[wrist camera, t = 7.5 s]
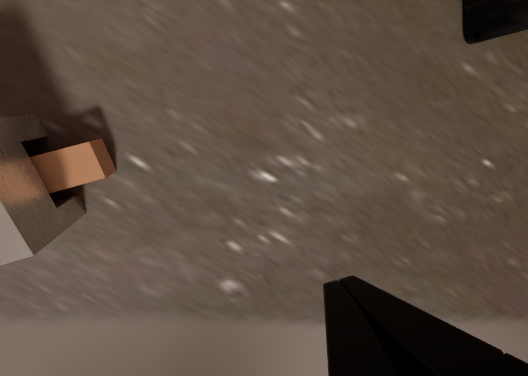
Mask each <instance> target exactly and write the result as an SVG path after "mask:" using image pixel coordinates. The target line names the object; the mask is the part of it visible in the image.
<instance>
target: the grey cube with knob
mask: <svg viewBox="0 0 528 376" xmlns="http://www.w3.org/2000/svg"><path fill="white" fill-rule="evenodd" d="M46 136H47V134H46V132H45V130H44V129H43V127H42V125H41V123H40V121H39V119H38V117H37V115H20V116H3V117H0V265H3V264H6V263H9V262H13V261H16V260H20V259H23V258H27V257H30V256H34V255H35V254H36V253H37V252H39V251H40V250H41V249H42V248H44V247H45V246H46V245H47V244H49V243H50V242H51V241H52V240H53V239H55V238H56V237H57V236H58V235H60V234H61V233H62V232H63V231H65V230H66V229H67V228H68V227H70V226H71V225H72V224H73V223H75V222H76V221H77V220H78V219H80V218H81V217H82V216H83V215H85V214H86V211H85V209H84V207H83V205H82V203H81V201H80V199H79V197H78V195H76V196H73V197H69V198H65V199H62V200H58V201H55V202H53V200H52V199H51V197H50V195H49V193H48V191H47V189H46V188H45V186H44V184H43V182H42V180H41V178H40V177H39V175H38V173H37V171H36V169H35V167H34V166H33V164H32V162H31V160H30V158H29V156H28V155H27V153H26V151H25V149H24V147H23V145H22V144H21V143H24V142H27V141H31V140H35V139H39V138H42V137H46Z"/></svg>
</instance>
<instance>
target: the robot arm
mask: <svg viewBox="0 0 528 376" xmlns="http://www.w3.org/2000/svg"><path fill="white" fill-rule="evenodd" d="M526 29H528V0H464V38H465V41H466V42H467V43H468V44H474V43H478V42H482V41H485V40H489V39H493V38H497V37H500V36H504V35H508V34H512V33H515V32H519V31H523V30H526ZM474 32H476V36H475V37H474ZM323 292H324V308H325V325H326V341H327V358H328V374H329V376H528V363H526V362H524V361H522V360H520V359H518V358H516V357H514V356H512V355H510V354H508V353H505V354H503V352H502V351H501V350H500V349H498V348H496V347H494V346H492V345H490V344H488V343H486V342H484V341H482V340H480V339H478V338H476V337H474V336H472V335H470V334H468V333H466V332H464V331H462V330H460V329H458V328H456V327H454V326H452V325H450V324H449V323H447V322H445V321H443V320H441V319H439V318H437V317H435V316H433V315H431V314H429V313H427V312H425V311H423V310H421V309H419V308H417V307H415V306H413V305H411V304H409V303H407V302H405V301H403V300H401V299H399V298H397V297H395V296H393V295H391V294H389V293H387V292H385V291H383V290H381V289H379V288H377V287H375V286H373V285H371V284H370V283H368V282H366V281H364V280H362V279H360V278H358V277H356V276H348V277H345V278H341V279H340V280H339V281H337V280H334V281H331V282H327V283H324V285H323Z"/></svg>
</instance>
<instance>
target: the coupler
mask: <svg viewBox="0 0 528 376" xmlns="http://www.w3.org/2000/svg"><path fill="white" fill-rule="evenodd" d="M29 158H30V160H31V162H32V164H33V166H34V167H35V169H36V171H37V173H38V175H39V177H40V178H41V180H42V182H43V184H44V186H45V188H46V189H47V191H48V193H52V192H56V191H60V190H63V189H67V188H71V187H74V186H78V185H82V184H85V183H89V182H92V181H96V180H100V179H103V178H106V177H108V176H109V175H111V174H113V173H114V172H116V169H115V166H114V164H113V162H112V160H111V157H110V155H109V153H108V151H107V148H106V146H105V144H104V141H103V139H102V138H100V139H96V140H92V141H89V142H85V143H81V144H77V145H74V146H70V147H66V148H62V149H59V150H55V151H51V152H47V153H44V154H40V155H36V156H32V157H29Z"/></svg>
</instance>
